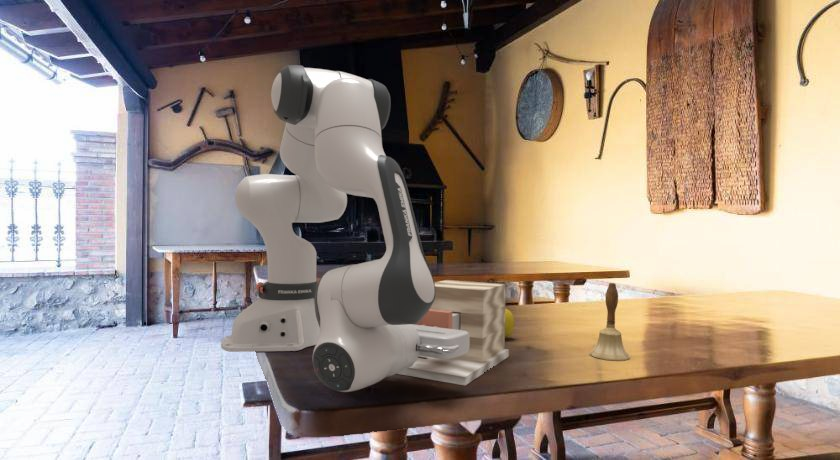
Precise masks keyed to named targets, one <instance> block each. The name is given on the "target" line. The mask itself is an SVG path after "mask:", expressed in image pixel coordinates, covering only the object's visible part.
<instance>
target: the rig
mask: <svg viewBox="0 0 840 460" xmlns="http://www.w3.org/2000/svg"><path fill="white" fill-rule="evenodd" d="M434 284H435V299H434V302H433V304H432V306H431V308H430V309H432V310H442V311H451V312H461V324H460V330H464V331H467V332H468V333H469V336H470V346H469V351H468V352H467V353H466V354H463V355H461V356H458V357H455V358H451V359H438V358H432V357H425V356H418V358H417V360H416V362H415V363H414V364H413V365H412V366H410V367H409V368H407V369H404V370H402V371H400V372H398V373H396V374H397V375H403V376H406V377H407V376H409V377H412V378H419V379H425V380H430V381H438V382H443V383H448V384H453V385H459V386H467V385H468V384H470V383H472V382H473V381H474V380H475V379H477V378H479V377H481V376H482V375H484V374H485V373H487V372H488V371H490V370H491V369H493V366H494V367H495V366H497V365H499V364H500V363H501V362H503V361H504V360H506V359H507V358H509V357H510V349H507V348H505V343H506V340H505V339H506V337H505V308H506V283H495V282H494V283H493V282H484V281H483V282H482V281H480V282H479V281H467V280H466V281H465V280H453V279H445V280H440V281H434ZM490 368H491V369H490ZM487 370H488V371H487ZM484 372H485V373H484ZM396 374H395V375H396Z"/></svg>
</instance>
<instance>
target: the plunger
mask: <svg viewBox="0 0 840 460" xmlns="http://www.w3.org/2000/svg"><path fill="white" fill-rule="evenodd" d="M460 324H461V312H451V311H442V310H432V309H429V311H428V312H427V314H426V315H425V316H424V317H423V318H422V319H421V320H420V321H419V322H418V323H416V324H414V325H429V326H437V327H439V328H447V329H455V330H460Z"/></svg>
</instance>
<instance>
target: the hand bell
mask: <svg viewBox="0 0 840 460" xmlns="http://www.w3.org/2000/svg"><path fill="white" fill-rule="evenodd" d="M618 302H619V292H618V290H617V283H616V282H615V283H614V282H609V283H608V287H607V289H606V291H605V306H606V309H607V311H606V312H607V315H606V317H607V318H606V320H607V321H606V327H605V328H603V329H601V330H600V331H599V333H598V339H597V342H596V345H595V346H594V348H592V349H591V350H590V352H589V355H590V356H591V357H593V358H597V359H599V360H605V361H616V362H621V361H623V362H625V361H628V360H630V359H631V356H630V354H629V353H628V352H627V350H626V349H625V346H624V344H623V338H622V332H621V331H619V330H618V329H616V309H617V307H618Z"/></svg>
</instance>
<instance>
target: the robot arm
mask: <svg viewBox="0 0 840 460" xmlns="http://www.w3.org/2000/svg"><path fill="white" fill-rule="evenodd" d="M270 92H271V93H270V94H271V95H270V97H271V103H272V107H273V113H274V115H276V116H277V118H278V119H279V120H281V121H282V122H285V126H284V130H283V134H282V138H281V141H280V146H279V157H280V159H281V161H282V163H283V165H284V166H285V167H286V169H288V170H289V171H290V172H291V173H293V174H294V175H292V174H291V175H289V174H275V173H273V174H272V173H263V174H254V175H247V176H244V177H243V178H242V179H241V181H240V182H239V183H238V185H237V186H236V189H235V194H234V202H235V205H236V209H237V210H238V212H239V214H240V215H241V216H242V217H243V218H244V219H246V220H247V221H248V222H249V223H251V225H253V227H255V229H257V231H258V233H259V234H260V236H261V238H262V240H263V243H264V245H265V251H266V259H267V281H265V282H263V281H260V282H258V283H257V284H256V286H255V289H256V291H257V293H258V295H257V296H258V298H257V300H255V301H253V302H252V303H251V304H250V305H249V306H247V307H246V308H244V310H242V311H241V312H240V313H239V314H237V316H236V317H235V319H234V321H233V323H232V328H231V333H230V335H227V336H225V337H224V338H222V340H221V346H220V347H221V349H222V350H224V351H225V352H229V353H231V352H232V353H241V352H242V353H243V352H244V353H245V352H247V353H248V352H251V353H252V352H291V351H292V352H296V351H300V350H303V349H305V348H308V347H312V346H314V349H313V352H312V366H313V369H314V370H313V371H314V372H315V374H316V376H317V378H318V379H319V381H320V382H322V384H323V385H324V386H326V387H328V388H329V389H331V390H333V391H337V392H342V393H350V392H355V391H360V390H361V389H362V390H363V389H365V388H368V387H371V386H373V385H375V384H377V383H379V382H381V381H382V380H383V379H385V378H388V377H391V376H393V375H396V373H398V372H400V371H402V370H404V369H407V368H409V367H410V366H412V365H413V364H414V363H415V362H416V360H417V358H418V356H425V357H432V358H438V359H451V358H455V357H458V356H461V355H463V354H466V353H467V352H468V351H469V346H470V336H469V333H468V332H467V331H464V330H455V329H447V328H439V327H437V326H429V325H415V324H416V323H418V322H419V321H420V320H421V319H422V318H423V317H424V316H425V315H426V314H427V312H428V311H429V309H430V308H431V306H432V304H433V302H434V299H435V284H434V282H435V280H434V276H433V273H432V271H431V268H430V265H429V263H428V261H427V260H428V259H427V258H426V254H425V252H424V249H423V245H422V240H421V238H420V237H421V236H420V232H419V229H418V224H417V220H416V216H415V212H414V209H413V205H412V200H411V197H410V193H409V192H410V191H409V189H408V185H407V182H406V179H405V176H404V173H403V171H402V169H401V167H400V165H399V164H398V162H397V161H396V160H395V159H394V158H392V157H391V156H387V155H386V153H385V151H384V148H383V137H382V130H383V129H384V128H385V127H386V125H387V123H388V120H389V118H390V114H391V113H390V112H391V108H392V105H391V103H392V102H391V95H390V92H389V90H388V88H387V87H386V85H384V84H383V83H381V82H379V81H376V80H374V79H372V78H368V79H366V78H364V77H361V76H358V75H355V74H352V73H348V72H345V71H340V70H330V69H323V68H313V67H304V66H303V65H297V64H294V65H293V64H292V65H291V64H290V65H285V66H284V67H282V68H281V69H280V70H279V71H278V72H277V75H276V77H275V78H274V80H273V83H272V86H271V91H270ZM347 195H352V196H356V197H364V198H365V197H366V198H371V199H373V200H374V201H375V204H376V205H377V209H378V212H379V213H378V214H379V219H380V224H381V228H382V234H383V237H384V238H383V239H384V242H385V247H386V248H385V249H386V250H385V252H384V255H383V256H382V257H380V258H379V259H373V260H370V261H365V262H361V263H357V264H355V263H353V264H350V265H349V264H348V265H346V266H345V265H344V266H341V267H337V268H332V269H329V270H327V271H326V272H325V273H324V274H322V276H321V278H320V279H319V281H317V254H318V253H317V251H316V248H315V246H314V245H313V244H312V243H311V241H308V240H306V239H305V238H302V237H301V236H299V235H297V234H296V233H295V232H294V229H293V223H304V224H305V223H310V224H311V223H312V224H313V223H315V224H316V223H318V224H319V223H325V222H331V221H335V220H339V219H340V218H341V217H342V216H343V215H344V212H345V211H346V208H347V206H348V205H347V204H348V196H347Z"/></svg>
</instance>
